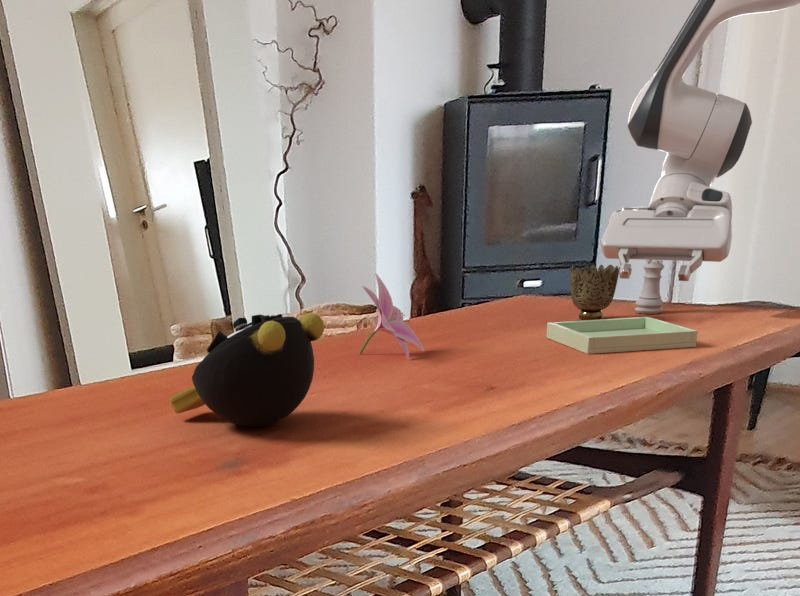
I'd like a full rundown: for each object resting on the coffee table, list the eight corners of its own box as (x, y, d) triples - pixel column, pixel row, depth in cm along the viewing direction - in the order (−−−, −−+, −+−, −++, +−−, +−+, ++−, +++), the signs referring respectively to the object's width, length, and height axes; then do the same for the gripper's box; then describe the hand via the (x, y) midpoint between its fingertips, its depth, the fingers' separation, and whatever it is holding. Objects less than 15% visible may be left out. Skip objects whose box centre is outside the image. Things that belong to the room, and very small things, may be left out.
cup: (563, 316, 156) (567, 264, 153) (610, 316, 156) (615, 263, 152) (569, 324, 150) (573, 269, 146) (618, 323, 149) (623, 268, 145)
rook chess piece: (629, 313, 158) (634, 260, 155) (641, 309, 161) (647, 258, 157) (654, 315, 155) (661, 262, 152) (667, 311, 158) (674, 259, 155)
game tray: (646, 331, 142) (647, 316, 141) (695, 347, 130) (698, 330, 129) (546, 337, 139) (547, 322, 138) (587, 354, 127) (588, 337, 126)
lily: (370, 374, 124) (408, 306, 120) (313, 329, 129) (348, 262, 125) (421, 388, 133) (458, 325, 129) (366, 345, 139) (400, 283, 134)
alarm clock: (263, 439, 107) (318, 308, 102) (288, 480, 95) (351, 334, 89) (163, 400, 103) (214, 262, 98) (174, 438, 90) (234, 282, 85)
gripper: (611, 193, 162) (586, 262, 159) (740, 193, 152) (717, 266, 149) (616, 221, 167) (592, 287, 164) (741, 222, 157) (718, 293, 154)
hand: (653, 277), depth 156 cm, fingers open, 8 cm apart
